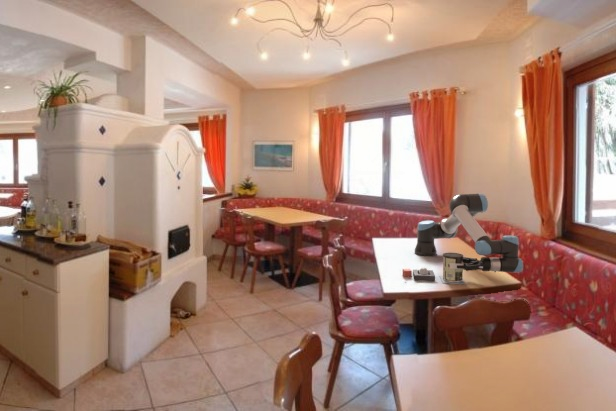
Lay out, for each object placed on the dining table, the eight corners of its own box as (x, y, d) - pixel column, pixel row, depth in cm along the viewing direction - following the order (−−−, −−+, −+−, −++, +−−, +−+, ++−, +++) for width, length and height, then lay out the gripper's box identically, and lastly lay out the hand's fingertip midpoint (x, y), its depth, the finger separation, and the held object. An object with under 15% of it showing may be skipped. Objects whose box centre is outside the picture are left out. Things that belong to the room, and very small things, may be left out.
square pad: (439, 276, 203) (439, 275, 203) (461, 277, 201) (461, 276, 201) (442, 283, 192) (442, 282, 192) (466, 284, 189) (466, 283, 189)
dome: (418, 273, 204) (418, 266, 204) (427, 274, 203) (428, 266, 203) (419, 276, 199) (419, 268, 199) (428, 277, 198) (429, 269, 198)
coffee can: (460, 277, 200) (461, 252, 199) (464, 283, 190) (465, 257, 189) (441, 276, 202) (441, 252, 201) (444, 282, 192) (444, 256, 191)
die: (402, 275, 207) (402, 268, 206) (409, 275, 207) (409, 268, 206) (404, 277, 203) (404, 270, 202) (411, 277, 203) (411, 270, 202)
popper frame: (412, 274, 208) (412, 269, 208) (432, 275, 206) (432, 270, 205) (414, 280, 197) (414, 275, 197) (435, 281, 195) (435, 276, 195)
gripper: (496, 278, 179) (451, 276, 184) (483, 264, 203) (444, 263, 208) (496, 263, 178) (451, 261, 183) (483, 251, 203) (444, 250, 207)
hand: (447, 262), depth 196 cm, fingers open, 13 cm apart
